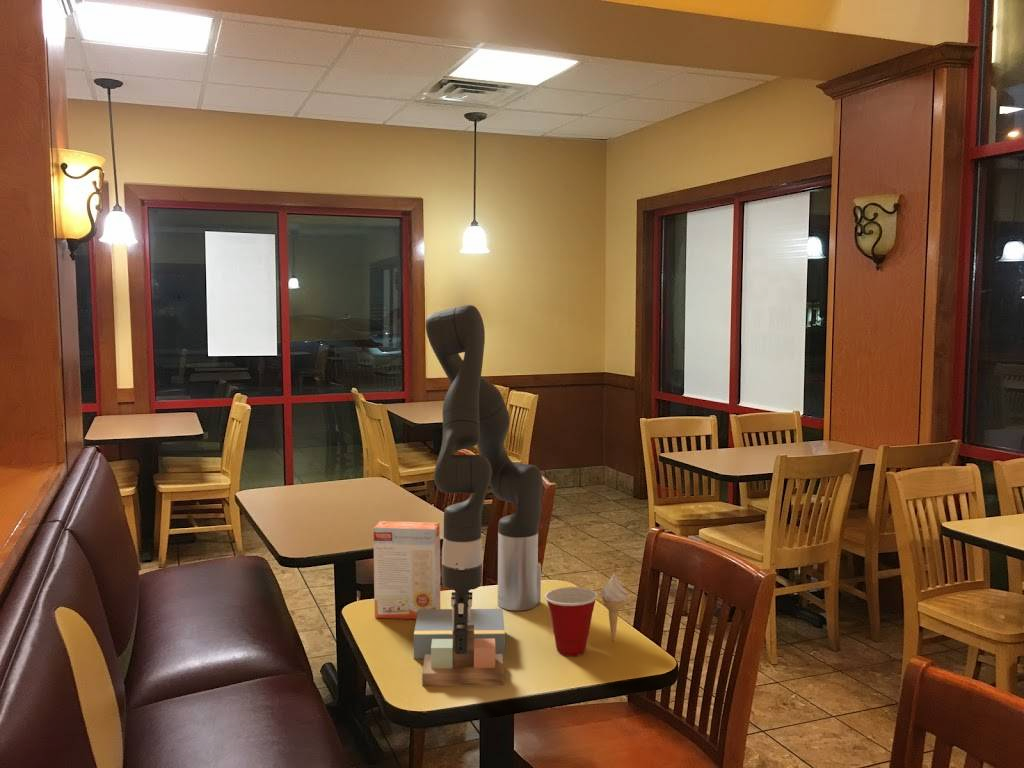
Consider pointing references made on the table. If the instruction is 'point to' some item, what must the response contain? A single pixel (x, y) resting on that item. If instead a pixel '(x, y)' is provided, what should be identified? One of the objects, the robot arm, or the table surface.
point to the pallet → (463, 668)
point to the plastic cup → (571, 617)
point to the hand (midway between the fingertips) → (461, 643)
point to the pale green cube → (442, 653)
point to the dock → (441, 627)
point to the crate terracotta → (484, 653)
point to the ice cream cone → (613, 601)
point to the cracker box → (406, 568)
